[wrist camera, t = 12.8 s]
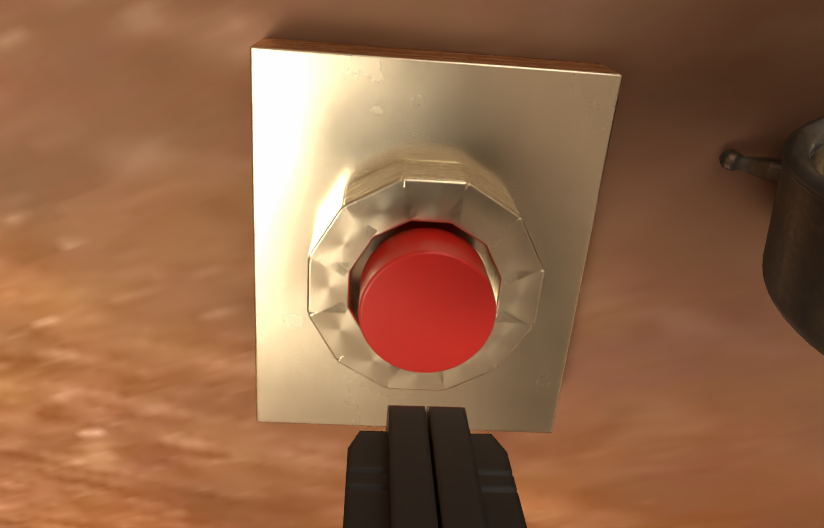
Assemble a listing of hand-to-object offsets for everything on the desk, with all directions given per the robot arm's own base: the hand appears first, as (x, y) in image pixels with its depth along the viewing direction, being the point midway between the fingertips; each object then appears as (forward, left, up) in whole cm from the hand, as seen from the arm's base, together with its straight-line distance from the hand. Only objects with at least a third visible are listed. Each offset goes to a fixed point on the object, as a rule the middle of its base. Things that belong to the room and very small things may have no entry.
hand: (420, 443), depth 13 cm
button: (0, 0, -7) cm, 7 cm away
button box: (0, 0, -10) cm, 10 cm away
